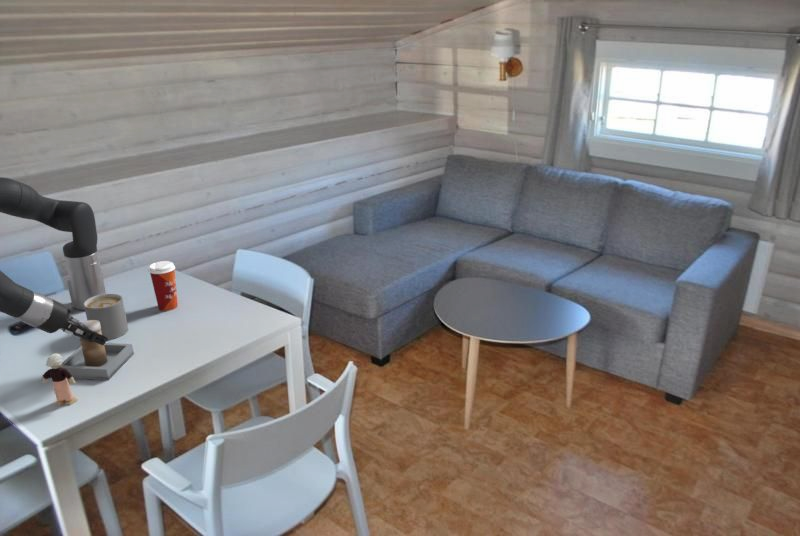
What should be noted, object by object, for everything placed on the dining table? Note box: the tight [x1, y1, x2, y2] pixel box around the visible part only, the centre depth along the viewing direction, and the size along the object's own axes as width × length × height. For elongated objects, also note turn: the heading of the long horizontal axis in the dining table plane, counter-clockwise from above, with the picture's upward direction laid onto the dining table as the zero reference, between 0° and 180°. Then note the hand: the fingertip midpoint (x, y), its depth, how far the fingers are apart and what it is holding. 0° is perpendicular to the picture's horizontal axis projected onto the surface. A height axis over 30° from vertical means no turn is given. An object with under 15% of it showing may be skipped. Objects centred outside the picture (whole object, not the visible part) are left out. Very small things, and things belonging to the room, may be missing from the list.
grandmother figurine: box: [41, 352, 79, 406], centre depth 148 cm, size 8×4×13 cm, turn 98°
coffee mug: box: [84, 293, 129, 341], centre depth 183 cm, size 13×10×10 cm
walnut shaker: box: [79, 320, 108, 367], centre depth 164 cm, size 5×5×11 cm
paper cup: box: [148, 260, 178, 312], centre depth 196 cm, size 8×8×14 cm
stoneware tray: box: [61, 342, 135, 381], centre depth 166 cm, size 13×13×3 cm
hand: (99, 337), depth 165 cm, fingers open, 5 cm apart
